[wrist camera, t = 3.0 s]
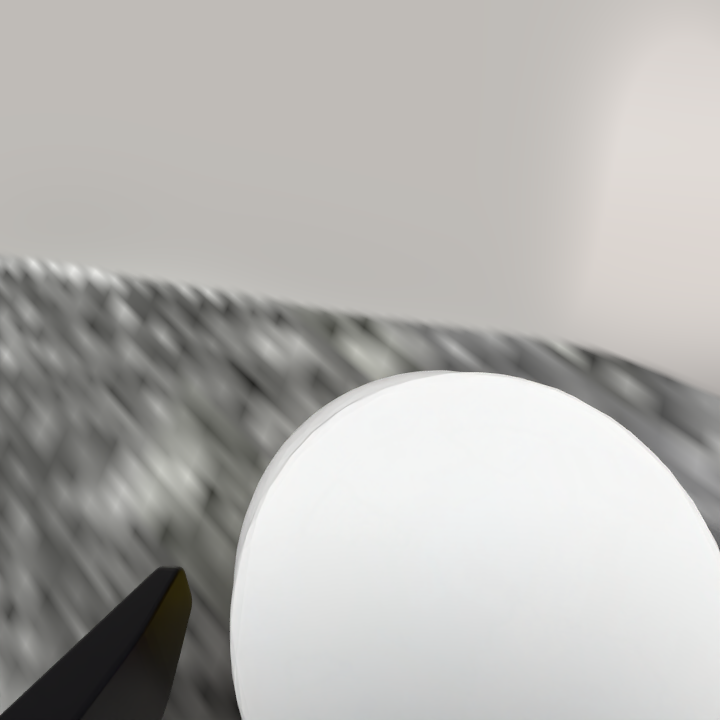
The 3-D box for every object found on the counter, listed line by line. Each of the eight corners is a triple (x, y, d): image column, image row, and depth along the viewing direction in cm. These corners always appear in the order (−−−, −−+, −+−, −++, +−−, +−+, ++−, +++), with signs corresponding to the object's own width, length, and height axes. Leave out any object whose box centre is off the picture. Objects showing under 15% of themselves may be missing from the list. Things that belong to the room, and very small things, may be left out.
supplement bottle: (279, 595, 17) (-35, 793, 5) (369, 413, 18) (316, 194, 6) (473, 705, 15) (765, 1391, 3) (551, 499, 17) (945, 441, 5)
